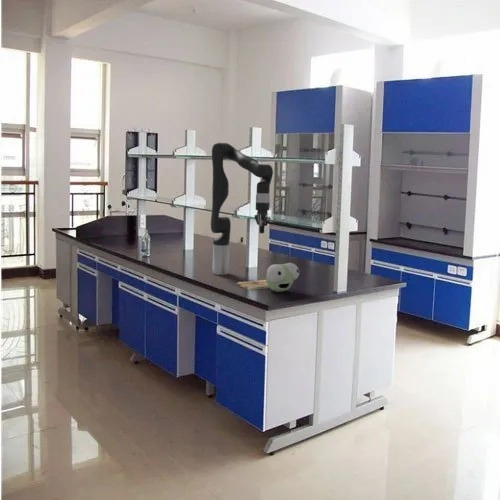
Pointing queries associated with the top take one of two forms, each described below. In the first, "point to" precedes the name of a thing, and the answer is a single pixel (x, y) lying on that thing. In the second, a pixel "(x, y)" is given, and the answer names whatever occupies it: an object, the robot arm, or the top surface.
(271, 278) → the toy
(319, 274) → the top surface
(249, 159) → the robot arm
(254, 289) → the laid strip
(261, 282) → the plank far
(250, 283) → the plank near
